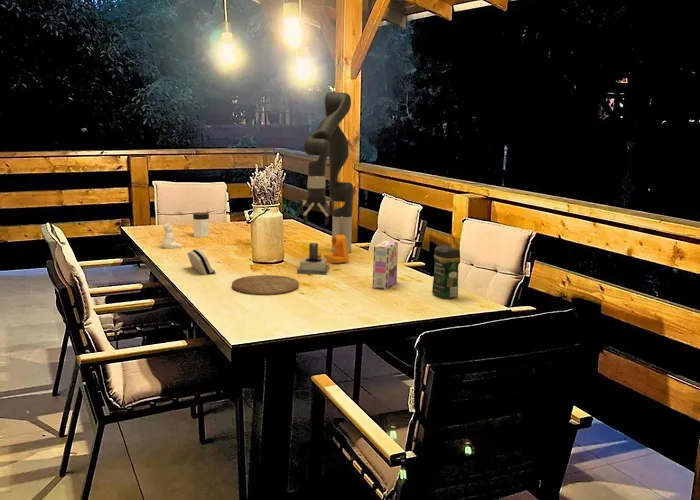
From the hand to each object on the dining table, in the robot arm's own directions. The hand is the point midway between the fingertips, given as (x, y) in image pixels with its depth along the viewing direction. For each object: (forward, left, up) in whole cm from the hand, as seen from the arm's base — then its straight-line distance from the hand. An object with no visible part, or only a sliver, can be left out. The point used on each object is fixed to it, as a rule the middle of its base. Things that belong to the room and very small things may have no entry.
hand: (316, 224), depth 288 cm
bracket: (-11, +8, -19) cm, 23 cm away
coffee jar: (+42, +52, -19) cm, 69 cm away
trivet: (+38, -15, -19) cm, 45 cm away
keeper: (+9, 0, -18) cm, 20 cm away
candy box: (+29, +30, -19) cm, 46 cm away
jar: (-63, -67, -19) cm, 94 cm away
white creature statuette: (-30, -73, -19) cm, 81 cm away
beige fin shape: (+16, -46, -19) cm, 52 cm away
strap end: (+5, 0, -17) cm, 18 cm away
